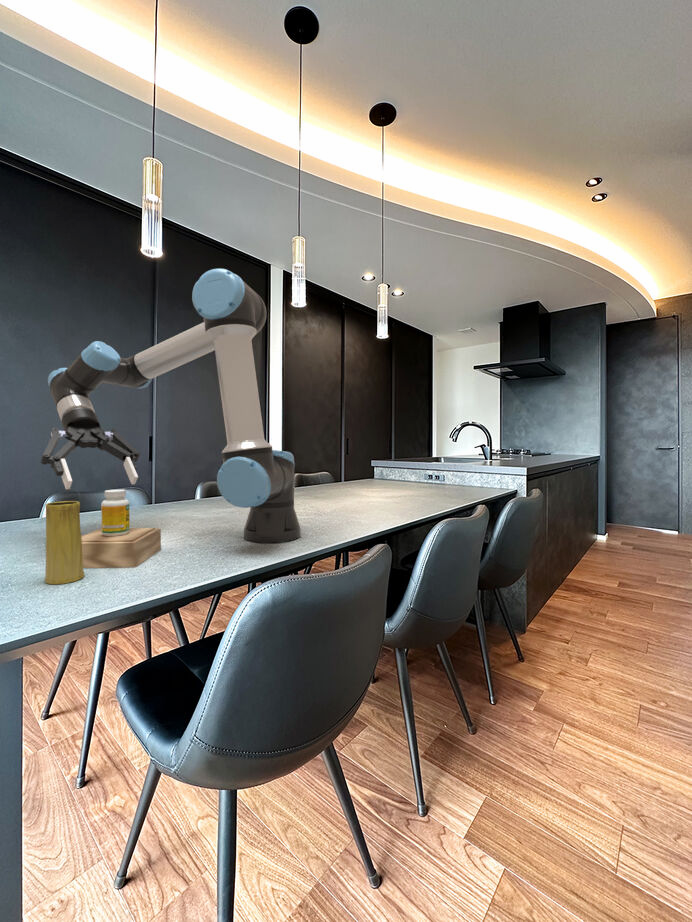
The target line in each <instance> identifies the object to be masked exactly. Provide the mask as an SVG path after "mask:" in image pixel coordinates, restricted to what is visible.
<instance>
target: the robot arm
mask: <svg viewBox="0 0 692 922" xmlns="http://www.w3.org/2000/svg"><path fill="white" fill-rule="evenodd" d="M191 295H192V296H191V297H192V298H191V300H192V304H193V307H194V308H195V311H196V312H197V314H199V316H201V317H202V318H203V322H201V323H199V324H197V325H195V326H193V327H191V328H189V329H187V330H185V331H182V332H180V333H178V334H176V335H174V336H172V337H170V338H168V339H166V340H163V341H161V342H160V343H158V344H155V345H153V346H151V347H149V348H147V349H145V350H143V351H140V352H138V353H137V354H134V355H132V356H129V357H127V358H125V357H121V355H120V354H119V353H118V352H117V351H116V350H115V349H114V348H113V347H112V346H110V344H109V345H108V344H106V343H105V342H104V341H99V340H95V341H92V343H90V344H89V345H88V346H87V347H86V348H85V349H83V350H82V352H81V353H80V354H79V355H78V357H76V359H75V360H74V361H73V362H72V363H71V364H70V365H69V367H60V368H58V369H56V370H55V369H54V370H52V371H51V372H50V373H49V374H48V376H47V383H48V387H49V388H48V389H49V393H50V395H51V397H52V398H53V402H54V405H55V407H56V410H57V413H58V415H59V419H60V421H61V424H62V427H63V430H60V429H59V428H58V427H56V426H55V427H52V428H51V432H50V440H49V441H48V444H47V446H46V447H45V448H44V451H43V453H42V457H41V461H40V463H41V464H42V465H47V464H49V465H50V468H51V469H53V471H54V473H55V476H57V477H60V476H61V480H62V483H63V485H64V489H65V490H70V489H71V487H72V483H73V478H72V475H71V472H70V470H69V467H68V464H67V461H66V458H67V457H68V456H69V454H71V452H73V451H74V450H75V449H76V448H77V447H78V448H80V449H86V448H90V449H96V448H98V450H100V451H105V452H107V453H108V454H110V455H112V456H113V457H115V458H117V459H119V460H121V461H122V462H123V463H122V464H123V468H124V470H125V472H126V474H127V476H128V480H129V482H130V484H131V485H136V483H137V481H138V478H139V475H138V473H137V469H138V465H137V463H136V462H138V459H139V457H140V455H141V453H140V451H138V450H137V449H136V448H135V447H134V446H132V445H131V444H130V443H129V442H128V441H127V440H125V439H124V438H123V437H122V436H121V435H120V434H119V433H118V431H117V430H116V429H114V428H112V429H110V431H104V430H103V429H102V426H101V423H100V421H99V418H98V416H97V413H96V412H95V409H94V406H93V404H92V401H91V400H90V397H89V396H90V395H91V393H93V392H94V391H95V390H97V388H98V387H99V386H100V385H101V384H102V383H104V384H109V385H110V384H111V385H115V386H121V387H124V388H125V387H127V388H130V389H144V388H146V387H148V386H149V385H150V383H151V382H152V381H153V379H154V378H156V377H158V376H161V375H163V374H166V373H168V372H169V371H172V370H173V369H176V368H178V367H180V366H181V367H182V366H183V365H185V364H187V363H190V362H191V361H194V360H196V359H198V358H200V357H202V356H205V355H207V354H210V353H212V352H214V351H215V361H216V367H217V368H216V369H217V376H218V384H219V391H220V398H221V405H222V413H223V419H224V427H225V436H226V443H227V444H226V446H225V447H224V449H222V451H221V455H222V462H223V463H222V465H221V466H220V469H219V470H218V472H217V475H216V485H217V488H218V491H219V493H220V495H221V497H222V498H223V499H224V500H225V501H226V502H228V503H229V504H230V505H232V506H234V507H237V508H243V509H244V508H247V509H248V508H250V509H249V512H248V514H247V518H246V521H245V525H244V528H243V539H244V540H246V541H249V542H252V543H253V542H254V543H264V544H265V543H266V544H267V543H268V544H269V543H271V542H276V543H283V542H282V541H285V542H289V541H288V540H291V541H294V540H293V539H295V540H297V539H299V538H300V537H301V536H300V535H301V533H302V532H301V525H300V521H299V519H298V516H297V511H296V509H295V467H296V463H295V458H294V457H295V456H294V455H293V453H292V452H290V451H286V450H285V451H284V450H276V449H275V450H274V449H273V446H272V444H270V443H269V442H268V441H267V440H266V439H265V434H264V425H263V418H262V411H261V405H260V397H259V396H260V395H259V388H258V380H257V373H256V364H255V358H254V357H255V356H254V349H253V343H252V340H253V338H254V337H255V336H256V335H257V334H258V333H259V332H260V331H261V330H262V329H263V327H264V326H265V324H266V320H267V307H266V304H265V302H264V300H263V299H262V297H261V296H260V295H259V294H258V293H257V292H256V291H255V290H254V289H252V288H251V287H250V286H249V285H248V284H247V283H246V282H245V281H244V280H243V279H242V278H241V277H240V276H239V275H237V274H236V273H233V272H232V271H230V270H228V269H226V268H213V269H209V270H207V271H205V272H204V273H203V274H201V276H200V277H199V279H198V280H197V281H196V282H195V283H194V286H193V289H192V294H191ZM63 438H65V439H66V440H67V442H66V443H65V444H64V445H63V446H62V447H61V448H60V449H59V450H58V451H57V452H56V453H55V454H54V455H53V453H54V450H55V448H56V446H57V445H58V441H60V440H63ZM101 442H102V443H101ZM298 537H299V538H298ZM296 538H297V539H296Z"/></svg>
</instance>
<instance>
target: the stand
mask: <svg viewBox="0 0 692 922" xmlns="http://www.w3.org/2000/svg"><path fill="white" fill-rule="evenodd" d="M161 531H162V530H161V528H156V527H151V528H150V527H147V528H146V527H144V528H143V527H141V528H140V527H135V528H134V527H133V528H132V527H130V531H129V533H128V534H125V535H121V536H104V535H102V528H98V529H96V530H94V531H91V532H88V533H85V534H83V535H81V537H82V555H83V569H101V568H107V569H108V568H110V569H111V568H137V567H138V566H139V565H141V564H142V563H143V562H145V561H147V560H148V559H149V558H150V557H152V556H153V555H155V554H157V553H158V552H160V550H162V541H161V540H162V538H161V537H162V536H161V535H162V532H161Z"/></svg>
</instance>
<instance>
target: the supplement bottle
mask: <svg viewBox="0 0 692 922" xmlns="http://www.w3.org/2000/svg"><path fill="white" fill-rule="evenodd" d="M126 491H127V490H126V489H121V488H119V489H107V490H104V498H105V499H104V500H103V501H101V505H100V506H101V529H102V535H104V536H121V535H125V534H128V533H129V531H130V528H131V527H130V501H129V500H128V499H126V498H125V497H126V495H127V492H126Z"/></svg>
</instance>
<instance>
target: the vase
mask: <svg viewBox="0 0 692 922" xmlns="http://www.w3.org/2000/svg"><path fill="white" fill-rule="evenodd" d="M80 508H81V502H80V501H77V500H64V501H52V502H48V503H46V504H45V576H44V582H45V583H46V585H47V584H48V585H63V584H71V583H75V582H78V581H79V580H82V579H83V578H84V577H85V571H84V568H83V555H82V537H81V536H82V531H81V517H80V516H81V513H80Z"/></svg>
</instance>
